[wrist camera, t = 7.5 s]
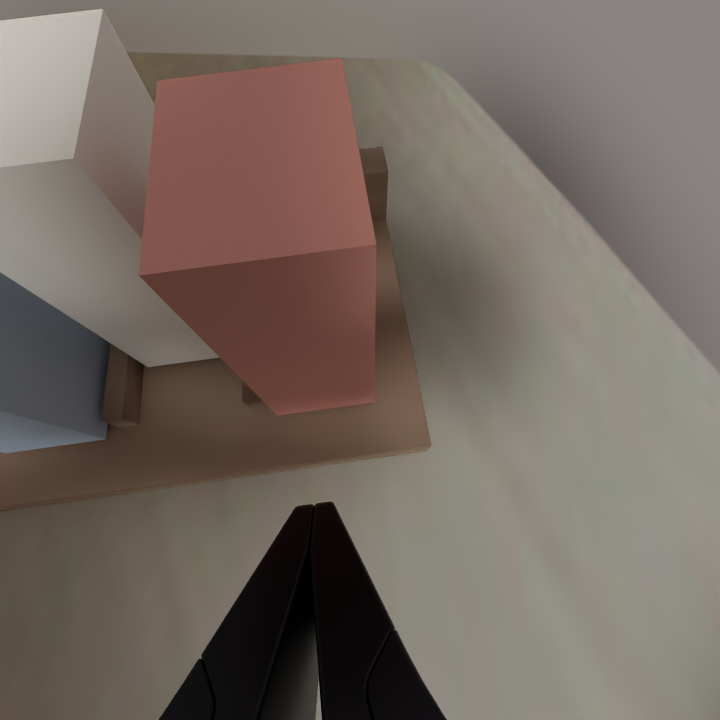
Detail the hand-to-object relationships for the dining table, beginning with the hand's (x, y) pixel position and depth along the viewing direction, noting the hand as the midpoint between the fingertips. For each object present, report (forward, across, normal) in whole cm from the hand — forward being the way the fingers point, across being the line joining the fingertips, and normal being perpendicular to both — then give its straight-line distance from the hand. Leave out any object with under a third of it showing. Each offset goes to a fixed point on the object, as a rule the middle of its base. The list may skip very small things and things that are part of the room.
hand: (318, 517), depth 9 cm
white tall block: (+11, +6, -2) cm, 13 cm away
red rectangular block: (+9, 0, 0) cm, 9 cm away
